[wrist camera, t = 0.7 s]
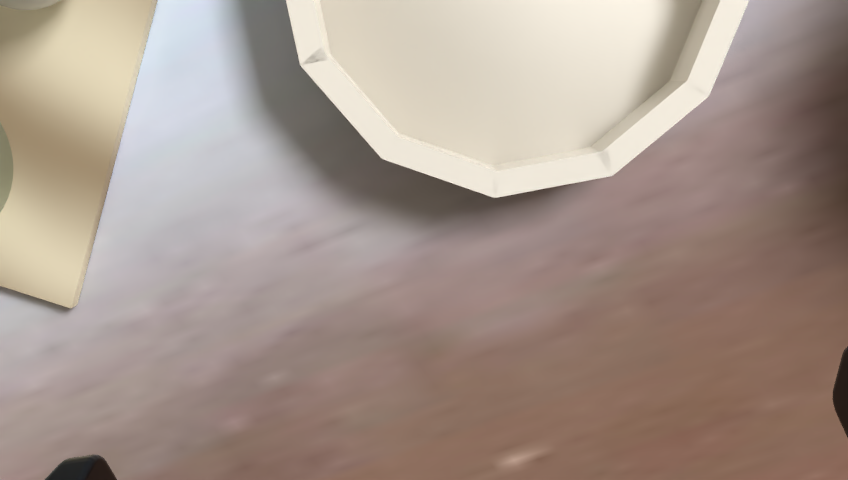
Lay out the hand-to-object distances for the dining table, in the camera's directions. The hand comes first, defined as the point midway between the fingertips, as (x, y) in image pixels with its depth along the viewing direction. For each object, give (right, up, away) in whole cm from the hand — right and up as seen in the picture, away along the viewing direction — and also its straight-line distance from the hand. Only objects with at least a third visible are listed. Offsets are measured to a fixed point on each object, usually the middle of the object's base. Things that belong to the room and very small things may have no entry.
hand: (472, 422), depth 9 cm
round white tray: (+2, +10, +12) cm, 15 cm away
